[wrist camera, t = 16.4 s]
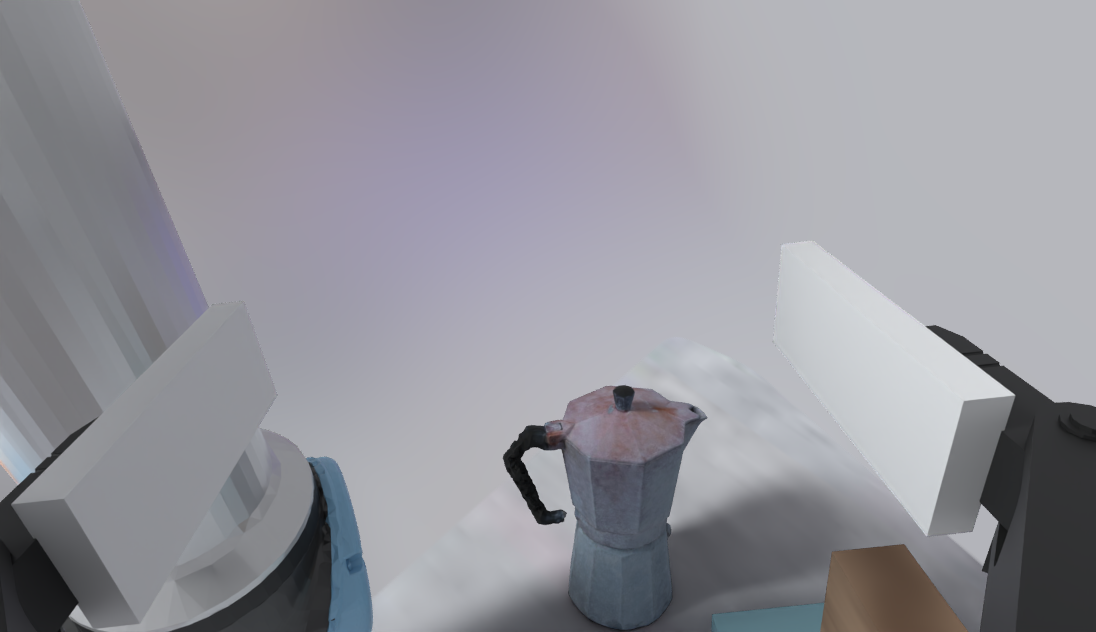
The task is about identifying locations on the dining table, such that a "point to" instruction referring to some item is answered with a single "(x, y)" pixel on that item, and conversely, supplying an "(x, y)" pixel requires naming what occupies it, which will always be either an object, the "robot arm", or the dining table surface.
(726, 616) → the slotted base
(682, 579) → the dining table surface
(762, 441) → the dining table surface
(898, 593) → the walnut board
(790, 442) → the dining table surface
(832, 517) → the dining table surface
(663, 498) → the moka pot
